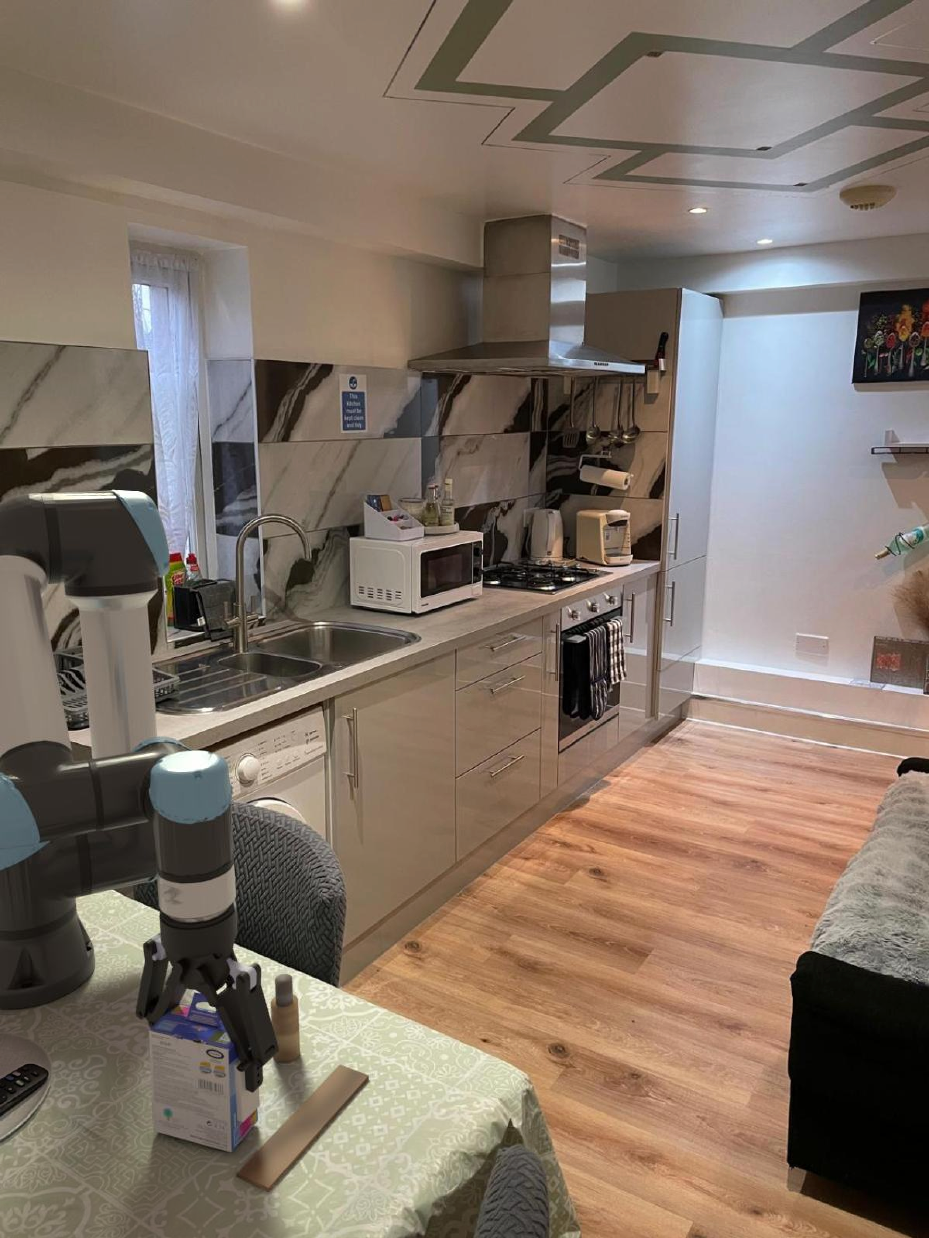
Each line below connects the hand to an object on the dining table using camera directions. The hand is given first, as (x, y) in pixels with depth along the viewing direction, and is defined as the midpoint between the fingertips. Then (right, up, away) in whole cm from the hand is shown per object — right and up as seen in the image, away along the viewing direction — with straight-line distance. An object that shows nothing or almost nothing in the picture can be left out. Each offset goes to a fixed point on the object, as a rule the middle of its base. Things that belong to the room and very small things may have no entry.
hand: (208, 1095), depth 98 cm
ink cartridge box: (0, -4, 0) cm, 4 cm away
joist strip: (+10, -4, +1) cm, 11 cm away
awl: (+6, -1, +12) cm, 14 cm away
